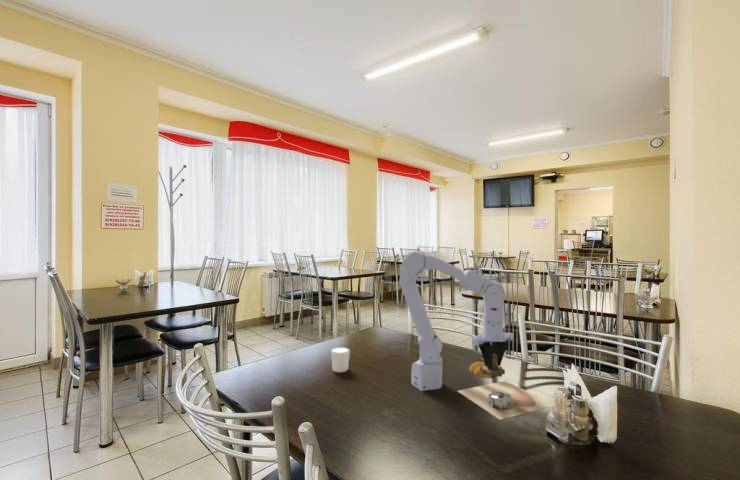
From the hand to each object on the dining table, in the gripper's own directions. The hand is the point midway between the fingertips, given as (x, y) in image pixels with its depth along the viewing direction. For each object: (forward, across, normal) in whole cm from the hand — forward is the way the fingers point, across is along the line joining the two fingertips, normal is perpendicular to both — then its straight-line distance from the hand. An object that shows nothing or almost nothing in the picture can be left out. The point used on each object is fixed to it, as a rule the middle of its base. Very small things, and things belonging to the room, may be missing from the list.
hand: (492, 365), depth 107 cm
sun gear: (+8, -3, -7) cm, 11 cm away
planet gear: (+2, 0, 0) cm, 2 cm away
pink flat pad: (+8, +4, -7) cm, 12 cm away
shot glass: (+9, -36, +38) cm, 53 cm away
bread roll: (+10, +9, +14) cm, 20 cm away
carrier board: (+10, +1, -4) cm, 10 cm away
